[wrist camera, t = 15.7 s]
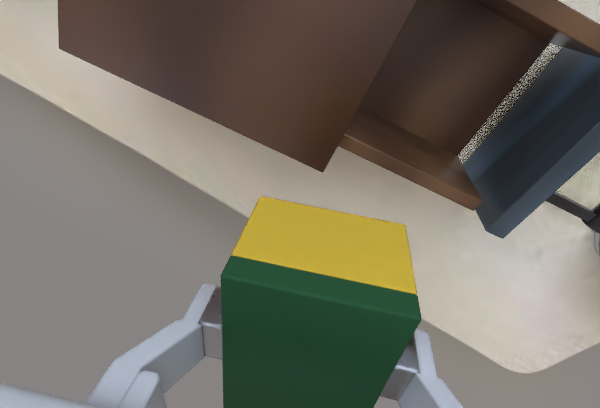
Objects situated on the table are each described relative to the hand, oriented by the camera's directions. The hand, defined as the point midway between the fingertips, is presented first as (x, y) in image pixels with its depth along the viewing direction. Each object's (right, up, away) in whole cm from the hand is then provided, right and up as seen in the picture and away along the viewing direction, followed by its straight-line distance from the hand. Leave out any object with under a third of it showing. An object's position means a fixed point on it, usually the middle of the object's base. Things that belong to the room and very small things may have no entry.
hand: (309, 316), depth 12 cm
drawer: (+11, +12, +10) cm, 19 cm away
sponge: (0, +1, +1) cm, 2 cm away
